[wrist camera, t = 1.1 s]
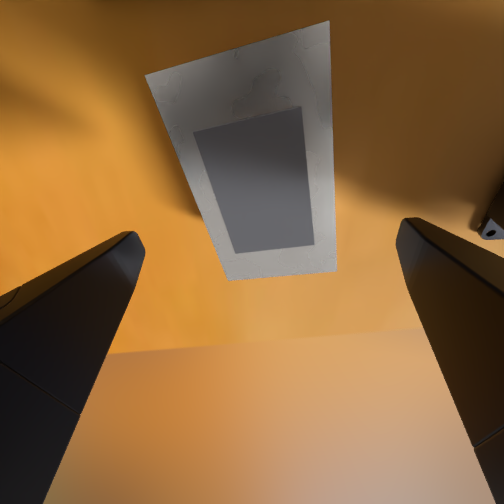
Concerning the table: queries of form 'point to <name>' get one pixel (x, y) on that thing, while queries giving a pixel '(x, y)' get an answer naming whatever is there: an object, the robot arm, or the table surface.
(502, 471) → the robot arm
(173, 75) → the block
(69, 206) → the table surface
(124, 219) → the table surface
